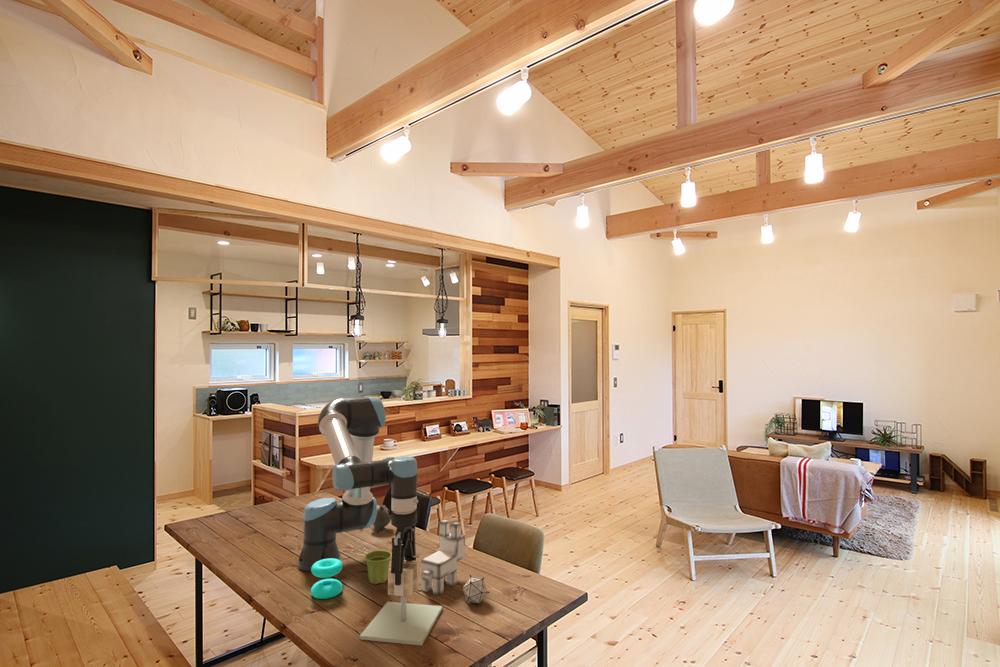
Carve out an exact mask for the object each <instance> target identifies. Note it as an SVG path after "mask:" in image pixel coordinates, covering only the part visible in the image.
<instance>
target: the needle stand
mask: <svg viewBox="0 0 1000 667" xmlns="http://www.w3.org/2000/svg"><path fill="white" fill-rule="evenodd" d="M442 611H443V605H432V604H421V603H420V604H419V603H409V602H408V603H407V596H400V602H396V601H386V603H385V604H384V606H382V608H381V609H380V610H379V612H378V613H377V614H376V615H375V616H374V618H373V619H372V620H371V621H370V623H369V624H368V625H367V627H365V629H364V630H363V631H362V632H361V633H360V635H359V640H363V641H373V642H374V641H375V642H381V643H382V642H384V643H392V644H402V645H403V644H404V645H411V646H412V645H413V646H423V644H424V642H425V641H426V639H427V637H428V635H429V634H430V632H431V630H432V629H433V627H434V626H435V623H436V621H437V619H438V618H439V617H440V614H441V612H442Z"/></svg>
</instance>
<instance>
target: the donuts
mask: <svg viewBox="0 0 1000 667" xmlns="http://www.w3.org/2000/svg"><path fill="white" fill-rule="evenodd" d="M343 567H344V565H343V562H342V560H341V559H340V560H338V559H334V558H328V559H323V560H319V561H317V562H316V563H314V564H313V565H312V568H311V571H310V572H311V574H312V575H313V576H314V577H317V578H323V579H320V580H318V581H317V582H315V583H314V584H312V587H311V589H310V594H311V596H312V597H314V598H315V599H320V600H325V599H326V600H327V599H331V598H334V597H336V596H338V595H339V594H341V592H342V590H343V586H344V585H343V584H342V582H341V581H340V580H338V579H337V578H331V577H334V576H336V575H338V574H339V573H340V572H341V571H342V570H343Z"/></svg>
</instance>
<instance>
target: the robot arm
mask: <svg viewBox="0 0 1000 667" xmlns="http://www.w3.org/2000/svg"><path fill="white" fill-rule="evenodd" d="M385 425H386V411H385V406H384V404H383V401H382V400H381V398H379V397H376V396H373V397H372V396H366V397H365V396H364V397H363V396H362V397H346V398H345V397H339V398H336V399H334V400H331V401H329V403H327V404H326V405H325V406H324V407H323V408H322V410H321V411H320V413H319V415H318V420H317V426H318V429H319V432H320V433H321V435H323V436H324V437H325V440H326V442H327V445H328V448H329V452H330V454H331V456H332V459H333V462H334V466H333V468H332V473H331V478H332V479H331V481H332V486H333V488H334V490H336V491H345V492H344V493H343V494H342V499H341V500H339V501H338V500H337V499H336V498H334V497H323V498H318V499H315V500H312V501H311V502H310V503H309V502H308V504H306V505H305V507H304V510H303V517H302V519H303V537H302V538H303V543H302V544H303V545H302V548H301V550H300V553H299V556H298V560H297V567H298V569H299V570H301V571H304V572H311V568H312V565H313V564H314V563H316V562H317V561H319V560H323V559H328V558H334V559H338V560H340V561H341V553H340V551H339V547H338V543H337V540H336V535H337V534H340V533H345V532H351V531H358V530H360V531H361V530H364V529H367V528H371V527H372V526H374V525H373V524H374V522H375V519H376V515H377V504H378V503H377V499H376V497H375V496H374V495H373V493H372V492H371V487H378V486H384V485H390V486H391V494H390V495H391V498H390V499H391V501H390V504H391V505H390V509H391V512H390V513H391V514H390V515H391V521H390V524H391V526H393V527H394V528H396V531H395V535H394V537H392V538H391V553H392V557H391V559H390V562H391V563H390V567H391V574H394V595H393V596H397V597H401V596H404V572H403V564H404V561H411V562H417V561H416V560H417V557H416V556H417V552H416V550H417V549H416V547H417V546H416V524H417V523H418V512H417V508H418V507H417V505H418V503H419V499H418V497H417V496H418V494H417V493H418V471H419V470H418V462H417V459H416V458H415V457H413V456H398V457H395V456H394V457H392V456H387V457H385V458H383V459H380V460H373V458H374V457H373V455H374V446H375V437H376V436H378V435H379V433H380V428H381V429H382V428H383V427H385Z"/></svg>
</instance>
